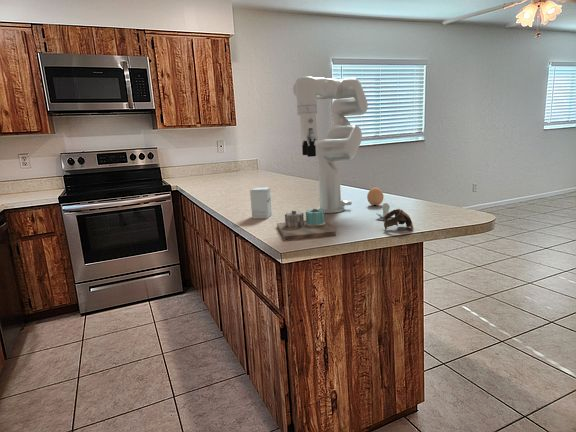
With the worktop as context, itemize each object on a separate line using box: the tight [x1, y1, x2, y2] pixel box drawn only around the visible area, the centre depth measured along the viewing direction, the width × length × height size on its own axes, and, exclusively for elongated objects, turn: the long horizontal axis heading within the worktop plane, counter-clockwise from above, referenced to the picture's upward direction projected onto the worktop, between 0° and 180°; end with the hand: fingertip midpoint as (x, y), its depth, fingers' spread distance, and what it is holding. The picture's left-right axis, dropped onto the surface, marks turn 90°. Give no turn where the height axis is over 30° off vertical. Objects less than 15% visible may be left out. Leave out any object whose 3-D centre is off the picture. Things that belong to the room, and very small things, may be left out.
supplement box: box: [249, 186, 273, 219], centre depth 172 cm, size 7×7×13 cm
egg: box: [366, 186, 384, 206], centre depth 182 cm, size 7×7×8 cm
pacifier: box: [376, 202, 395, 221], centre depth 156 cm, size 7×6×6 cm
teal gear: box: [305, 209, 326, 225], centre depth 149 cm, size 7×7×4 cm
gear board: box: [276, 208, 337, 242], centre depth 145 cm, size 18×20×7 cm
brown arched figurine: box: [382, 208, 414, 231], centre depth 141 cm, size 12×10×8 cm
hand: (309, 155), depth 155 cm, fingers open, 9 cm apart
